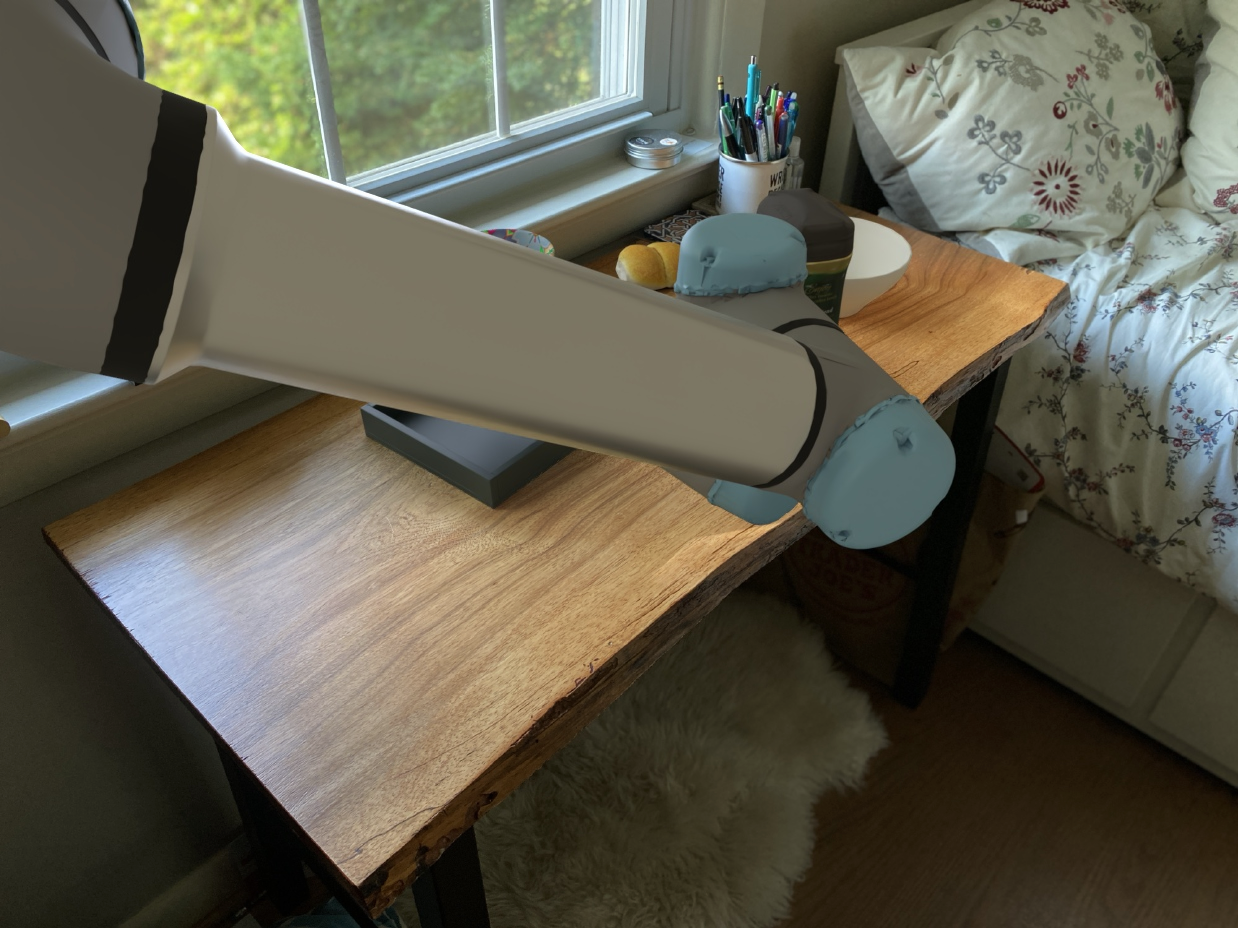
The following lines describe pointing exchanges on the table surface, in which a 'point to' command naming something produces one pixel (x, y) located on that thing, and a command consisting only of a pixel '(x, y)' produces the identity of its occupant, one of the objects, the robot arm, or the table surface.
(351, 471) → the table surface
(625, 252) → the bread roll
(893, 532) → the robot arm
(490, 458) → the tray
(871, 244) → the bowl
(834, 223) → the coffee jar
